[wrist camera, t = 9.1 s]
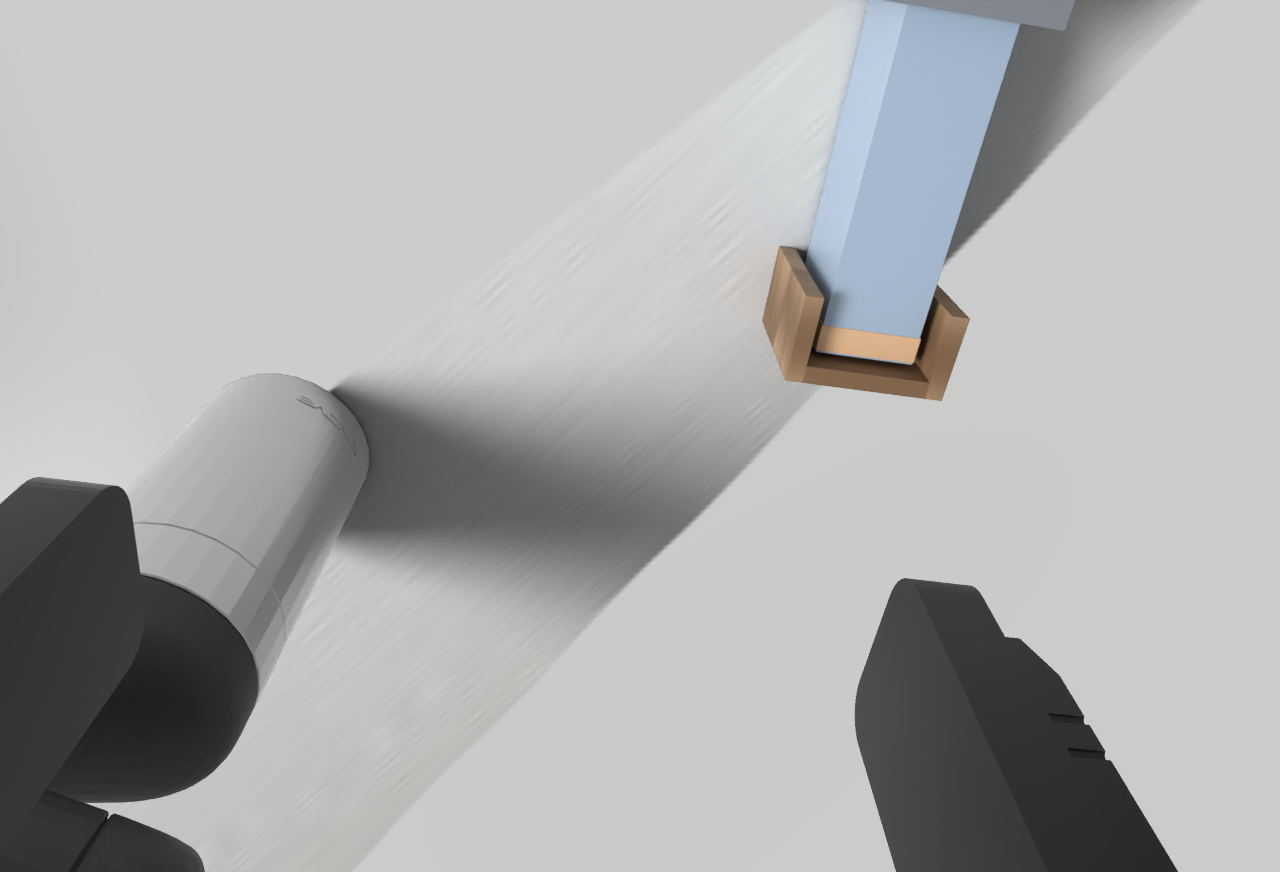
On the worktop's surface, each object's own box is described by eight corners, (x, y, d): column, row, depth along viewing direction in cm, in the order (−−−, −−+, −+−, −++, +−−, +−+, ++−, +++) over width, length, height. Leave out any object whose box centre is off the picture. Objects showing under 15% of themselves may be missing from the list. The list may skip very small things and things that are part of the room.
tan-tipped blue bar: (879, 317, 46) (912, 365, 41) (792, 305, 46) (815, 352, 41) (980, -26, 39) (1036, -22, 34) (877, -44, 39) (918, -43, 33)
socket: (897, 339, 47) (941, 401, 41) (762, 320, 47) (784, 380, 40) (920, 266, 45) (969, 318, 39) (779, 245, 45) (806, 295, 38)
